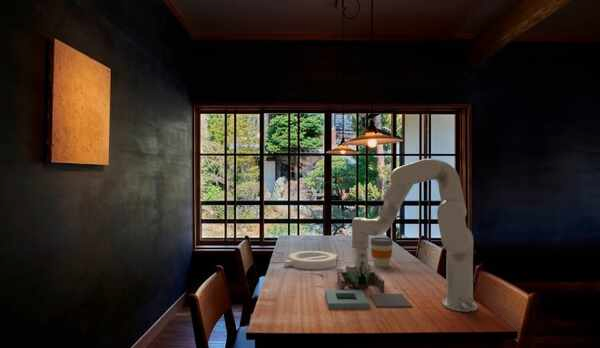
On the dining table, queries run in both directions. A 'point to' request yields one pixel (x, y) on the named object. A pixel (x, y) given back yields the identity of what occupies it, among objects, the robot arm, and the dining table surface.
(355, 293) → the hole plate
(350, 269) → the food container
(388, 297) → the charcoal mat
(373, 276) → the walnut cubby
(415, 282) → the dining table surface
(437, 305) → the dining table surface
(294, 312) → the dining table surface
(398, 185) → the robot arm
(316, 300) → the dining table surface
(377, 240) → the reusable coffee cup
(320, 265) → the ring with crossbar
